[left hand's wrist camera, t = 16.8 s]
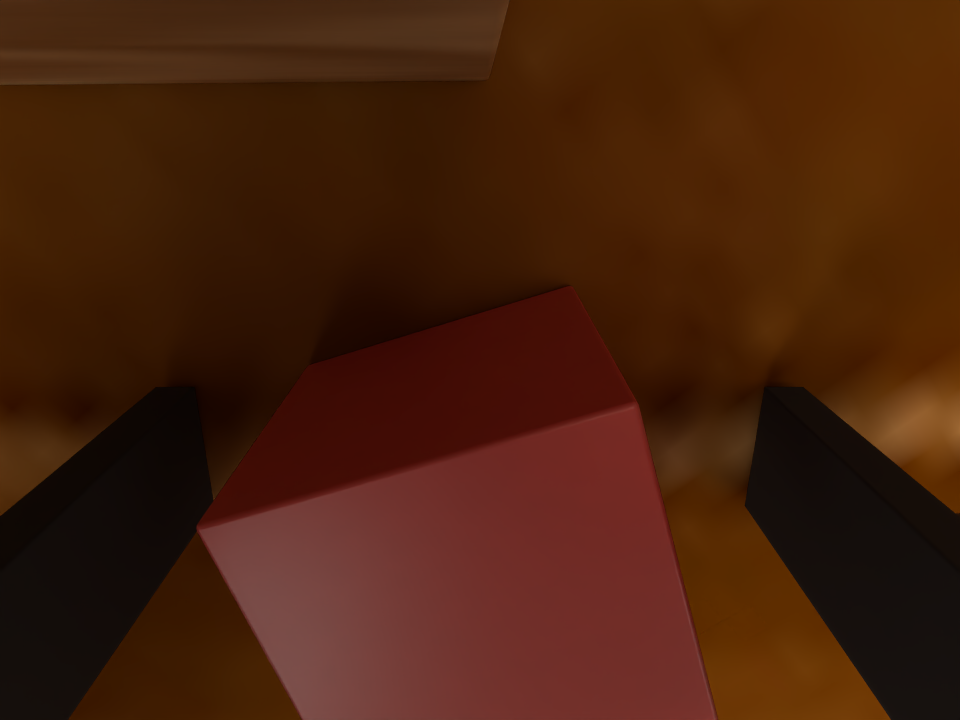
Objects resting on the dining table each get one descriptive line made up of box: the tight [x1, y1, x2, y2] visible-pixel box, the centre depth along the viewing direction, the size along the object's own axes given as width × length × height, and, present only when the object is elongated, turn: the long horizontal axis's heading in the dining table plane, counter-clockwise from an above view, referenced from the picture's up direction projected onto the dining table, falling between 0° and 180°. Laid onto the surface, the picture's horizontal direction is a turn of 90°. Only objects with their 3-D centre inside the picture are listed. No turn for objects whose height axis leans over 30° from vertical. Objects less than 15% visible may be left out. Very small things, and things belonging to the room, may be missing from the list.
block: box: [196, 286, 718, 720], centre depth 11 cm, size 5×5×5 cm
